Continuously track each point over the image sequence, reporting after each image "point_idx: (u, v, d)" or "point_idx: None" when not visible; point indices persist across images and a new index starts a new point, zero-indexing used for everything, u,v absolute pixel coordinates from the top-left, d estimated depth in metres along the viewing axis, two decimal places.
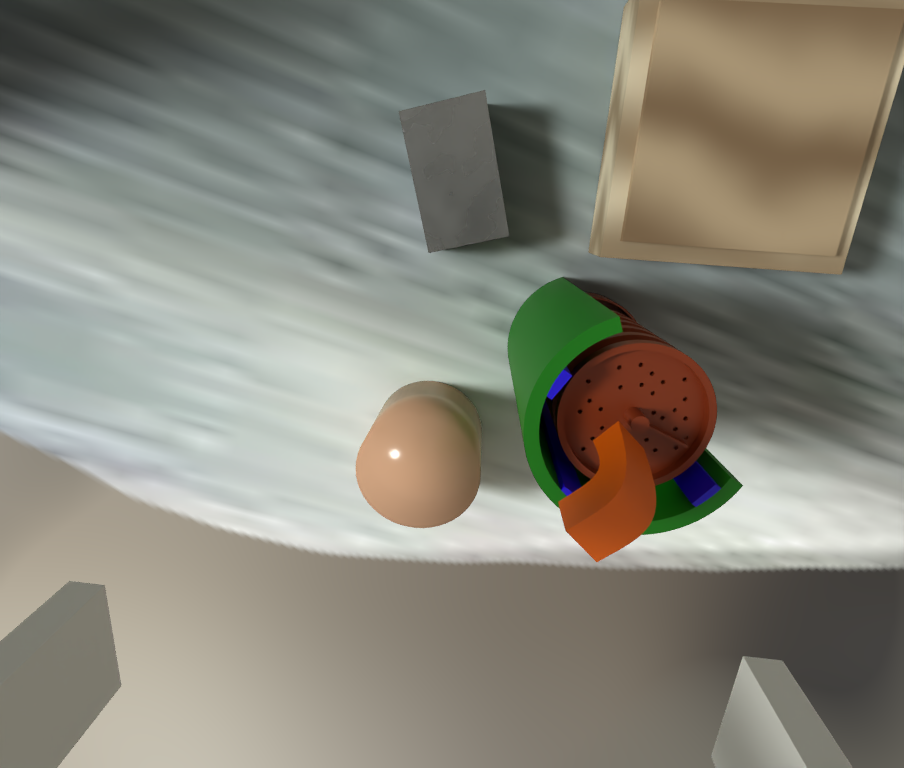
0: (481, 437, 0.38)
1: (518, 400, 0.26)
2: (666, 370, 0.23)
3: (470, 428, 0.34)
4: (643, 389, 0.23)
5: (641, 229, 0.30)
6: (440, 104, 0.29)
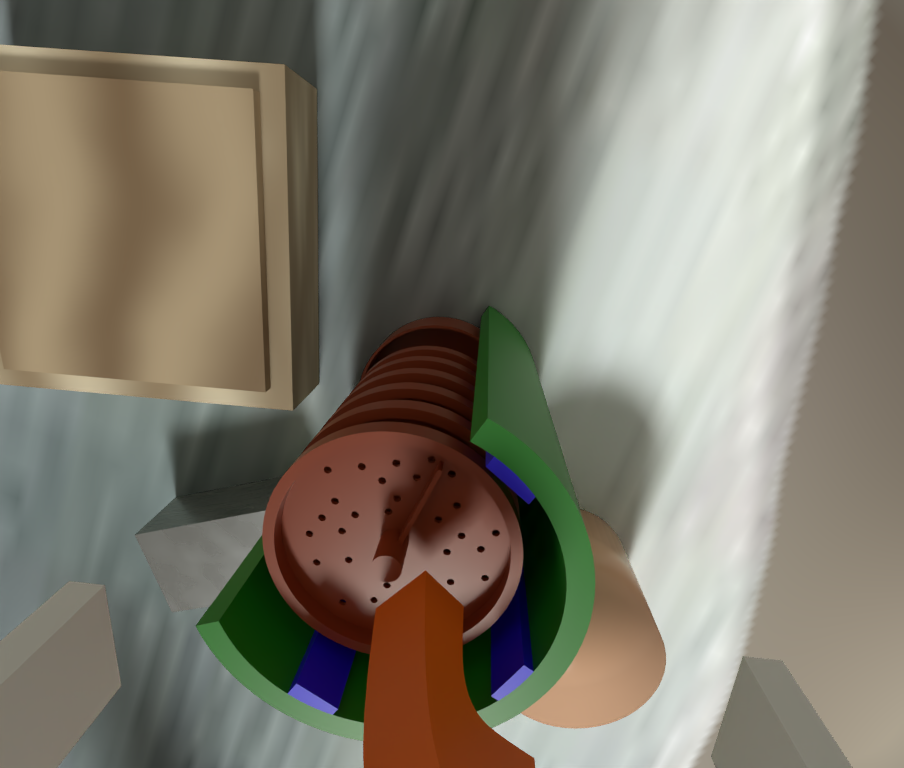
0: None
1: None
2: (314, 497, 0.14)
3: None
4: (352, 524, 0.14)
5: (248, 370, 0.23)
6: (157, 575, 0.28)
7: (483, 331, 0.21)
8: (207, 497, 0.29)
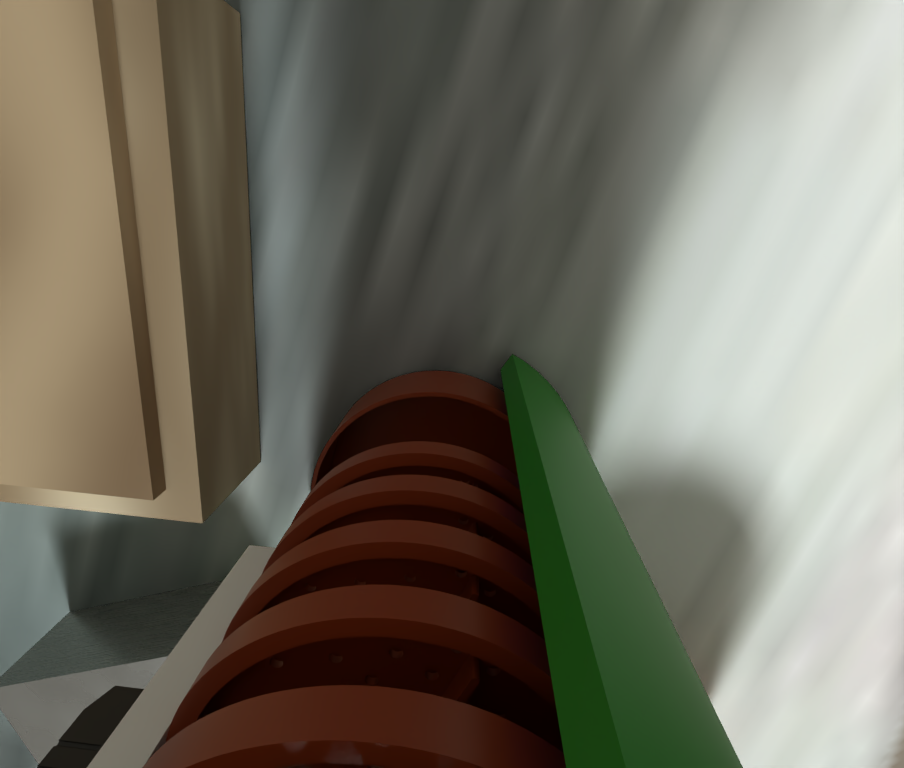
0: None
1: None
2: None
3: None
4: None
5: (123, 467, 0.14)
6: (28, 741, 0.19)
7: (516, 417, 0.12)
8: (106, 616, 0.21)
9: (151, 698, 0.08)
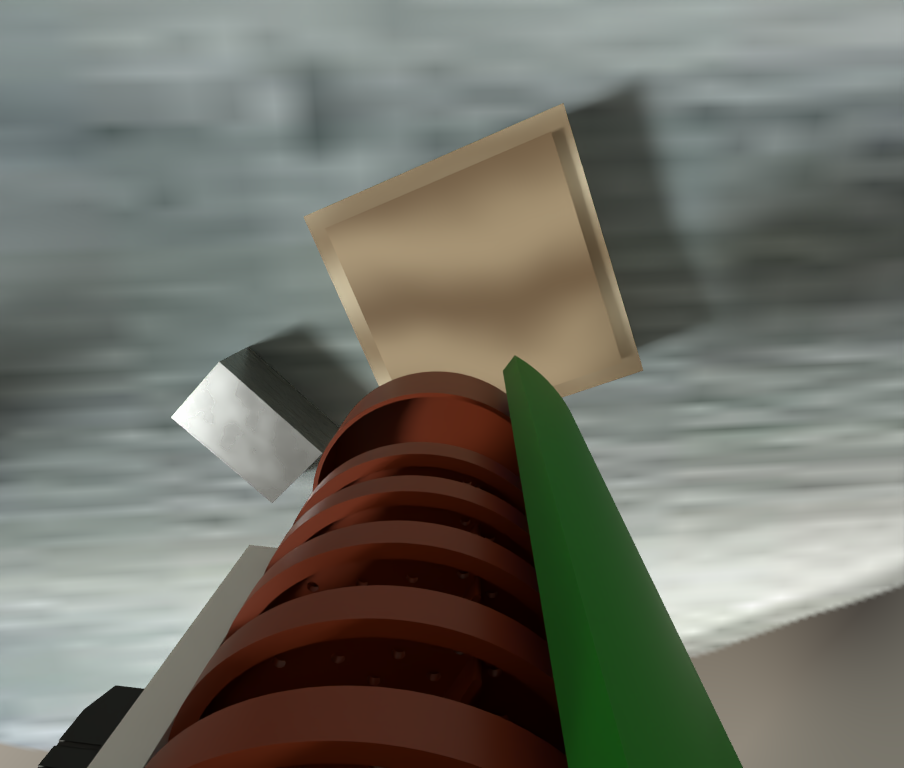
0: None
1: None
2: None
3: None
4: None
5: None
6: (196, 392, 0.31)
7: (519, 418, 0.12)
8: (272, 377, 0.33)
9: (151, 698, 0.08)
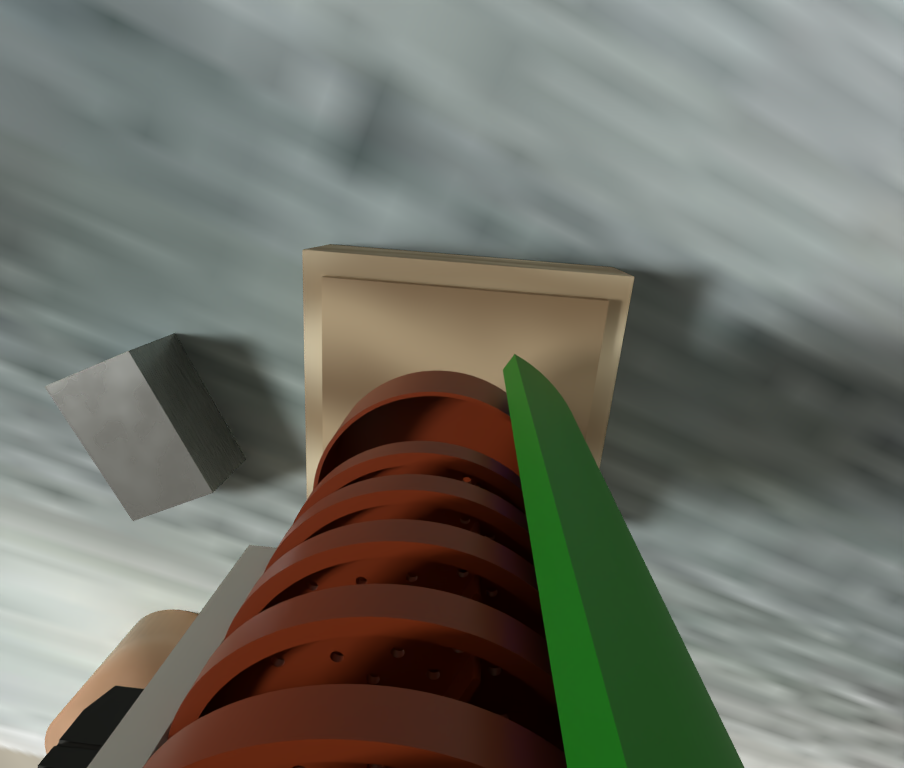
0: None
1: None
2: None
3: None
4: None
5: None
6: (86, 372, 0.25)
7: (518, 416, 0.12)
8: (189, 379, 0.28)
9: (151, 698, 0.08)
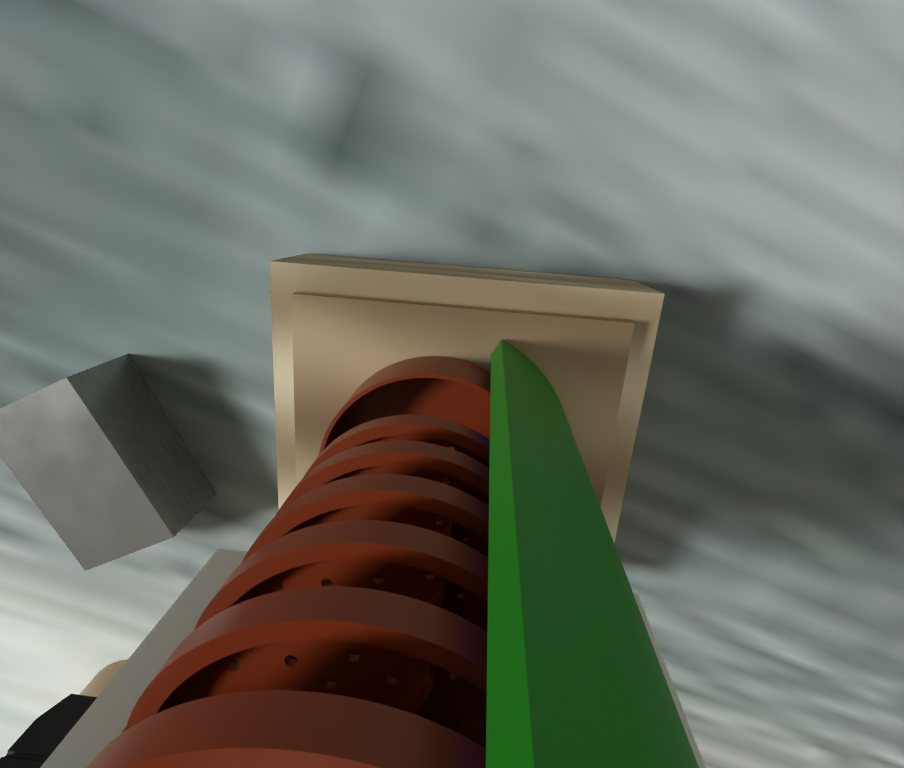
0: None
1: None
2: None
3: None
4: None
5: None
6: (20, 403, 0.21)
7: (496, 391, 0.14)
8: (146, 406, 0.24)
9: (103, 708, 0.08)
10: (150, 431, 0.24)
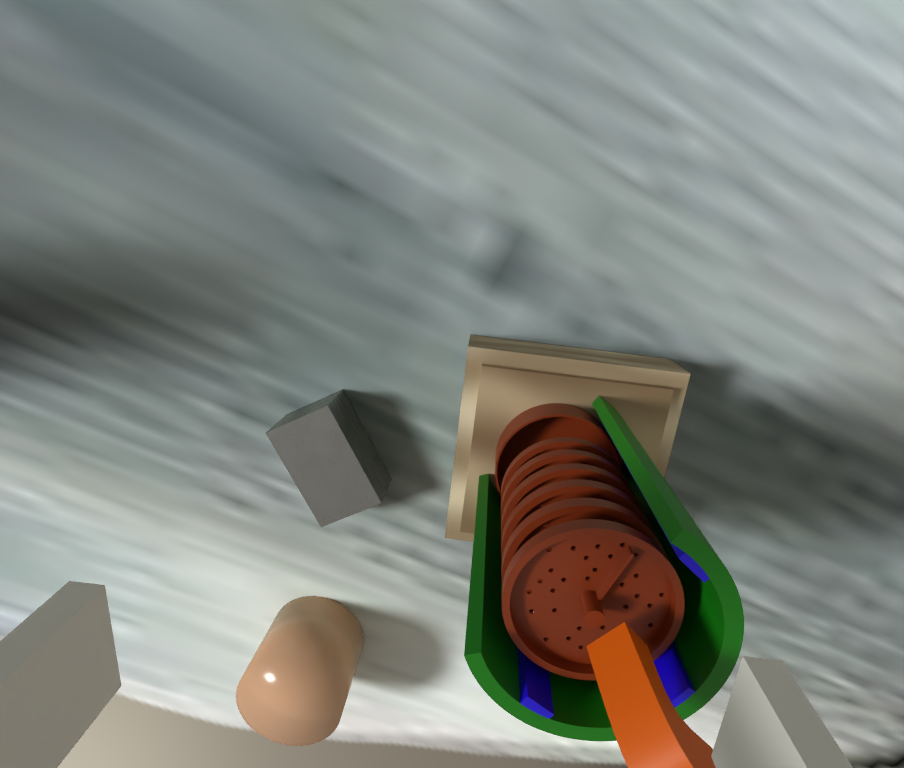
0: (358, 651, 0.43)
1: None
2: (537, 567, 0.21)
3: (339, 660, 0.40)
4: (559, 586, 0.21)
5: (474, 524, 0.36)
6: (296, 421, 0.36)
7: (610, 427, 0.28)
8: (355, 422, 0.38)
9: None
10: (360, 438, 0.38)
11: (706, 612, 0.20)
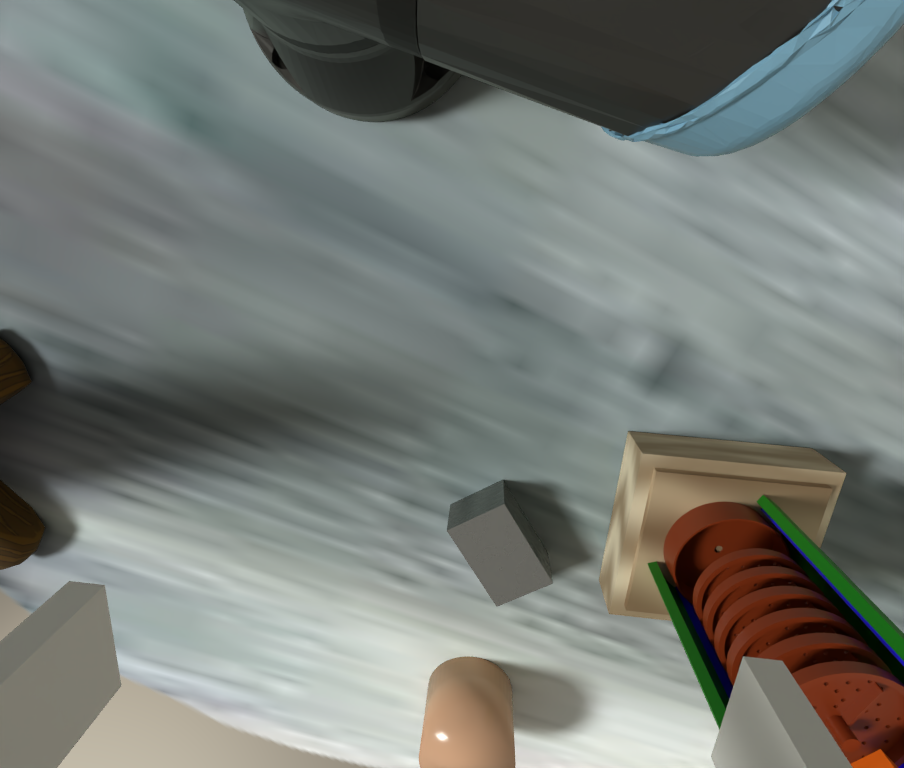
0: (512, 705, 0.48)
1: None
2: None
3: (506, 720, 0.44)
4: None
5: (640, 604, 0.40)
6: (475, 519, 0.39)
7: (797, 539, 0.32)
8: (517, 509, 0.42)
9: None
10: (524, 523, 0.42)
11: None
